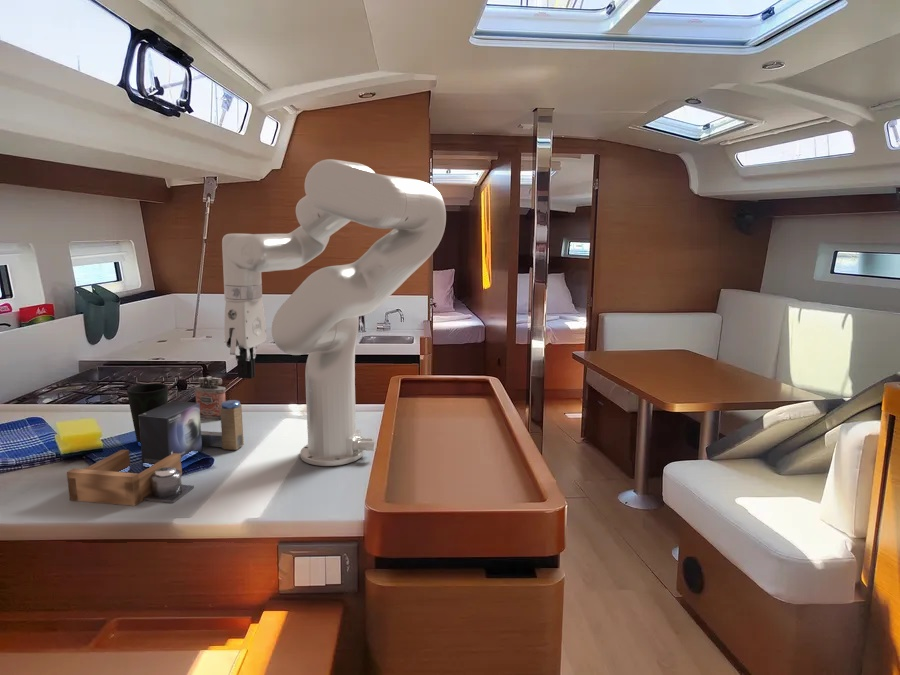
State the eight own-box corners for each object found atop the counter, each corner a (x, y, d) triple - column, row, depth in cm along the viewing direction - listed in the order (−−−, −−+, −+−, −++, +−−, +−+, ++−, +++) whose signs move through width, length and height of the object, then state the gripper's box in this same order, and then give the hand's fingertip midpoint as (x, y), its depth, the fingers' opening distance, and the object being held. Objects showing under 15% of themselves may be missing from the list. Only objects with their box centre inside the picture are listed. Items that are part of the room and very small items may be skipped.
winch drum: (193, 487, 105) (192, 465, 105) (172, 503, 99) (170, 479, 99) (162, 485, 106) (160, 462, 105) (140, 500, 100) (137, 476, 100)
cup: (142, 452, 122) (137, 394, 120) (125, 443, 126) (119, 388, 124) (179, 441, 128) (174, 387, 126) (160, 434, 132) (156, 381, 130)
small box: (171, 471, 113) (166, 417, 111) (140, 468, 114) (135, 415, 112) (204, 451, 123) (201, 401, 121) (176, 448, 124) (172, 399, 122)
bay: (182, 474, 111) (180, 448, 110) (134, 505, 98) (132, 477, 97) (123, 469, 113) (121, 444, 112) (69, 500, 100) (66, 471, 99)
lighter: (193, 418, 144) (190, 377, 142) (202, 413, 147) (199, 374, 145) (221, 421, 141) (218, 380, 140) (230, 417, 145) (228, 376, 143)
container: (245, 444, 126) (243, 400, 124) (237, 450, 122) (234, 405, 120) (183, 440, 128) (179, 397, 126) (172, 446, 124) (169, 401, 123)
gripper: (242, 298, 119) (245, 387, 122) (275, 289, 133) (278, 370, 137) (207, 296, 120) (211, 385, 123) (244, 288, 134) (247, 368, 138)
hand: (246, 377), depth 130 cm, fingers closed
